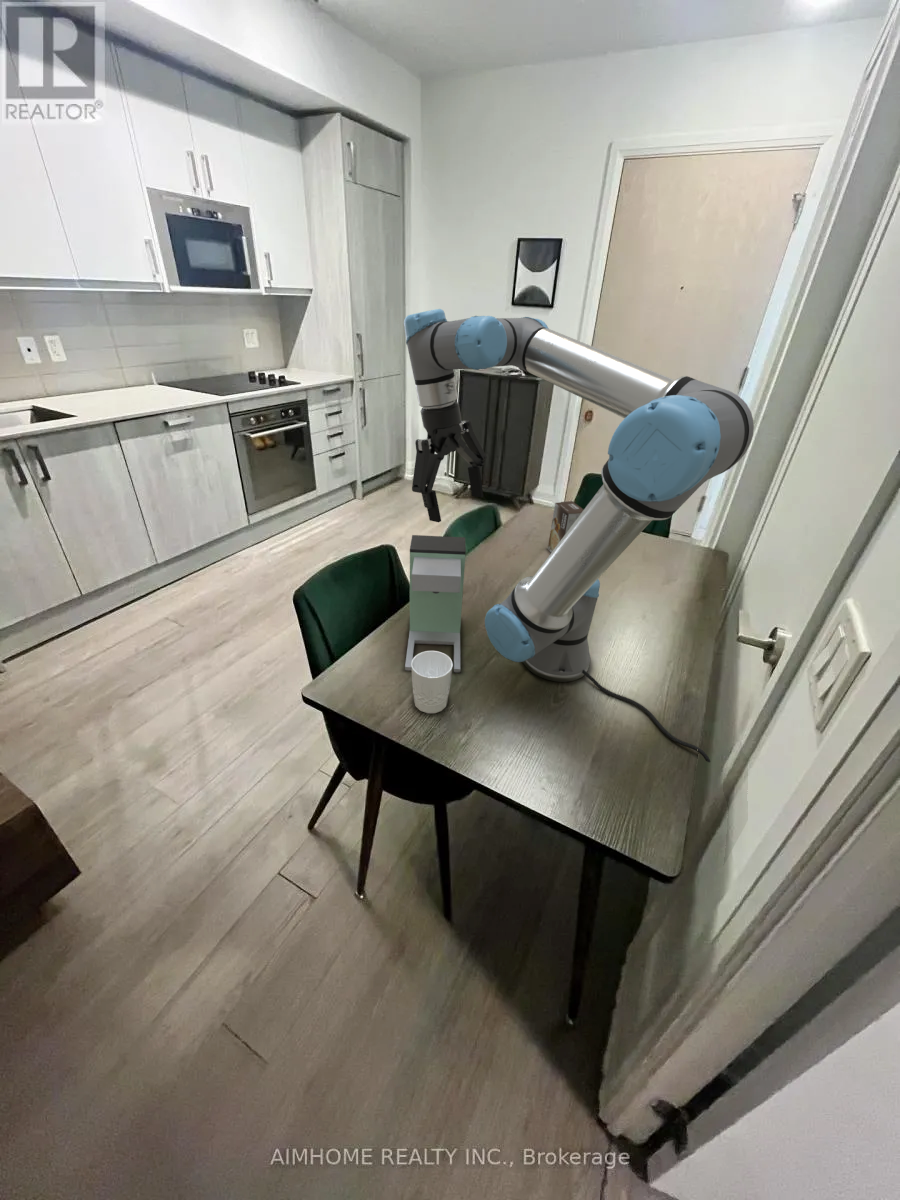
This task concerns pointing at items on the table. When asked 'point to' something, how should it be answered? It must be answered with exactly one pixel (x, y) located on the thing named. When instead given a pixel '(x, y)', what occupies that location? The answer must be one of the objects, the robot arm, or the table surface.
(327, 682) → the table surface
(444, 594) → the coffee machine
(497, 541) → the table surface
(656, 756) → the table surface
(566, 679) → the robot arm
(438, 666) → the white cup
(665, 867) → the table surface
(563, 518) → the coffee box
